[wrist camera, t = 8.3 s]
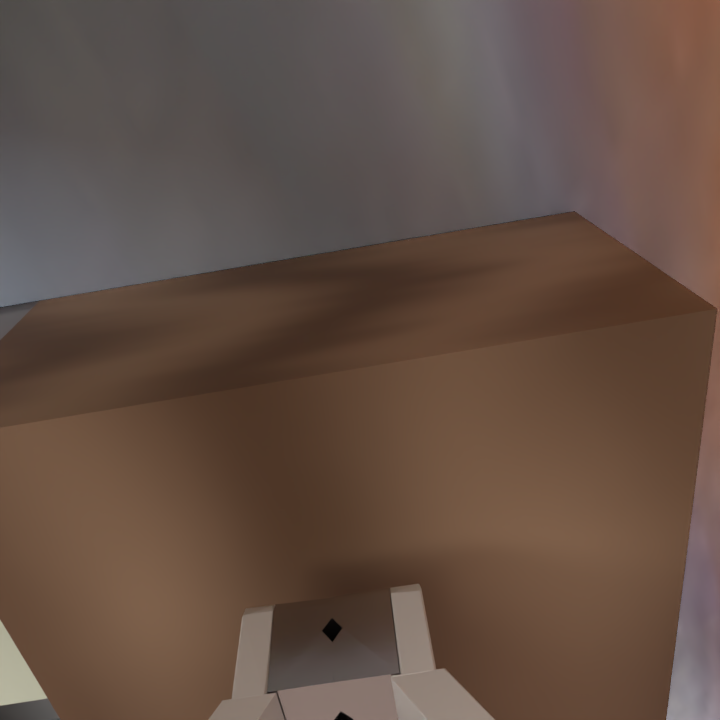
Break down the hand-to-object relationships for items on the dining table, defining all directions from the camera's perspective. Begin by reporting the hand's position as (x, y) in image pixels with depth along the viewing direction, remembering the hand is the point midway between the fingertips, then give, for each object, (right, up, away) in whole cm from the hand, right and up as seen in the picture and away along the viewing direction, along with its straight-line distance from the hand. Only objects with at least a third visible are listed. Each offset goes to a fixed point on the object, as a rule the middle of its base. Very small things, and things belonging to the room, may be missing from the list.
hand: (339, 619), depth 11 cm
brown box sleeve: (0, 0, +8) cm, 8 cm away
